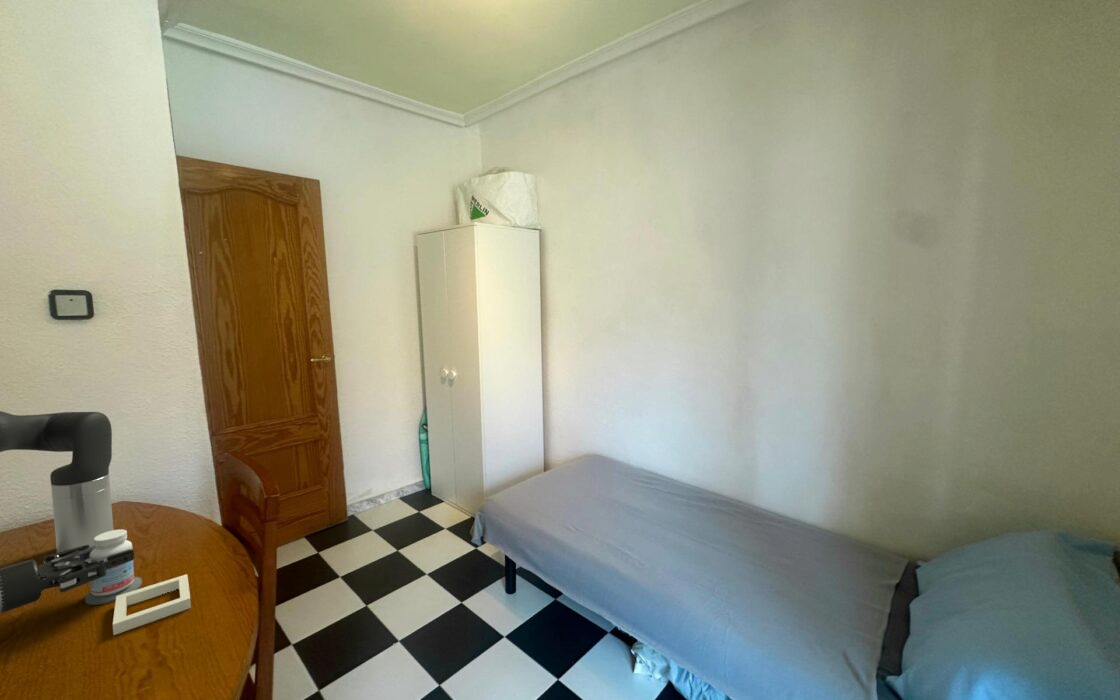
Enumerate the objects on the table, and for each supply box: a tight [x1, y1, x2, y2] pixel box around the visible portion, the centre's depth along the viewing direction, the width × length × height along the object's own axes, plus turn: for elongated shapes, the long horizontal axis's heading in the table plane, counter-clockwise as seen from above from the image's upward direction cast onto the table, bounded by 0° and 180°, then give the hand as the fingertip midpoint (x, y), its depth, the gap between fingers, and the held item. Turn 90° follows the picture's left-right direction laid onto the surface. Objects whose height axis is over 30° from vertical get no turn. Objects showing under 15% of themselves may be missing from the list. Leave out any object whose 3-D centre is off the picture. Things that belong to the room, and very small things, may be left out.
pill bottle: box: [89, 528, 135, 596], centre depth 86 cm, size 6×6×11 cm
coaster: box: [84, 576, 143, 606], centre depth 87 cm, size 8×8×1 cm
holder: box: [112, 573, 192, 636], centre depth 82 cm, size 10×10×2 cm
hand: (127, 549), depth 88 cm, fingers closed on pill bottle, 6 cm apart
